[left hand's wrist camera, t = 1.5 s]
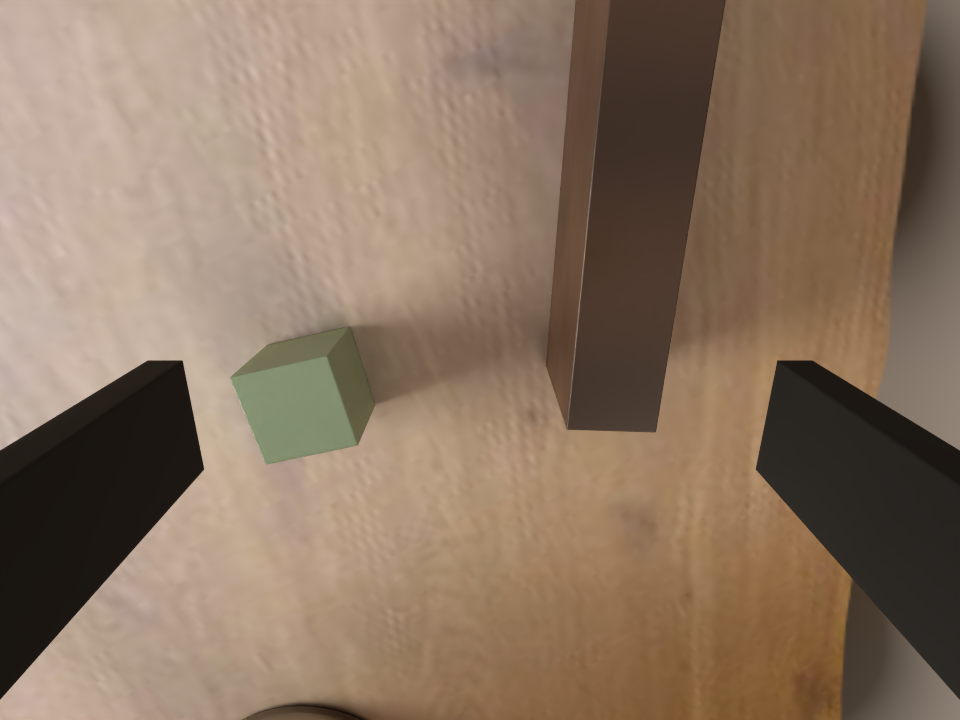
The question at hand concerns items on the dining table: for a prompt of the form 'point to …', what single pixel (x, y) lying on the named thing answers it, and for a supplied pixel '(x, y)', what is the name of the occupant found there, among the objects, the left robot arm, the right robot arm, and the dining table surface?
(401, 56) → the dining table surface
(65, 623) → the left robot arm
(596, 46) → the walnut block
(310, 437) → the sage block
